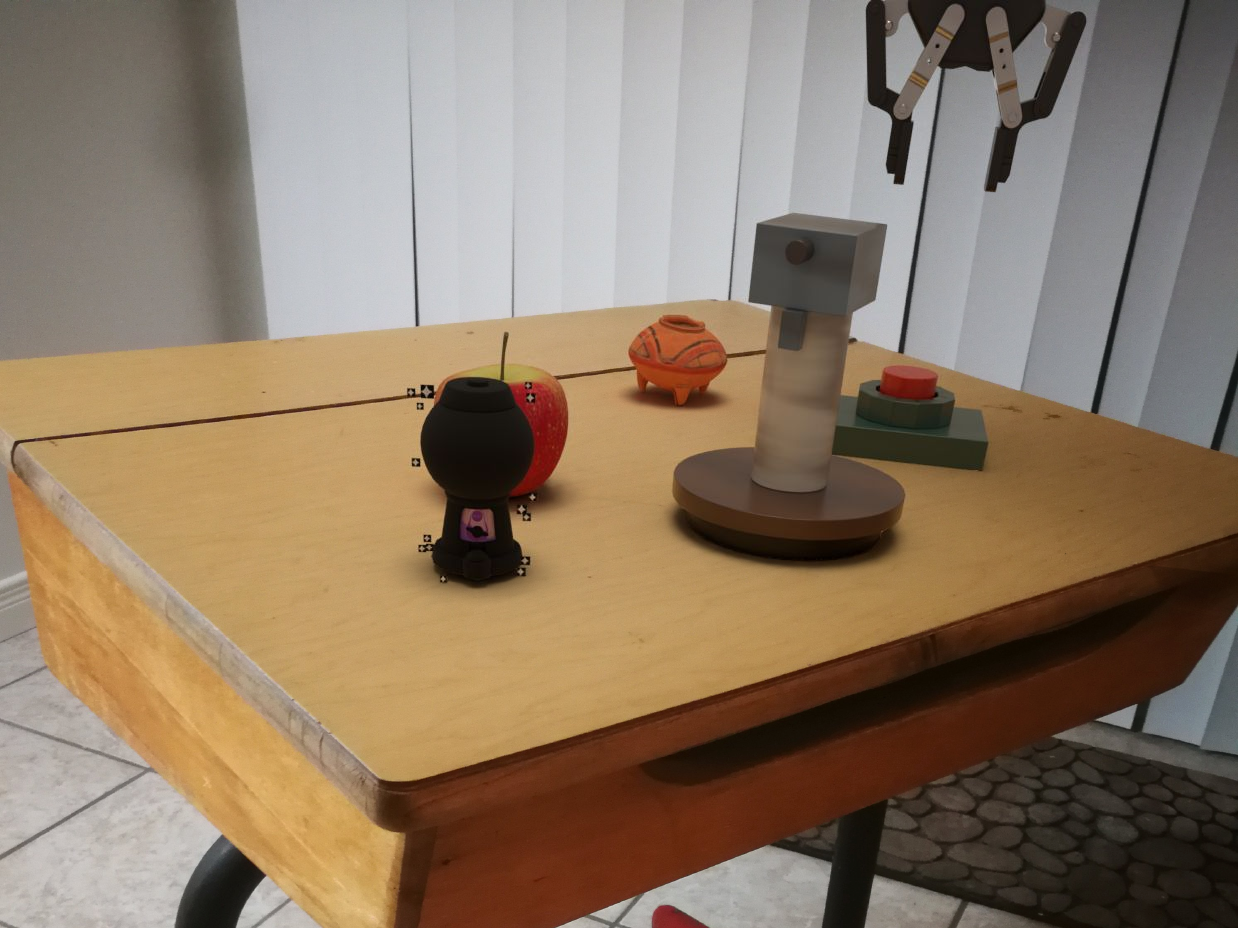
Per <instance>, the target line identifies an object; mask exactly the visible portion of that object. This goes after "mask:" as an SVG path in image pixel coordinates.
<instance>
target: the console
mask: <svg viewBox="0 0 1238 928" xmlns="http://www.w3.org/2000/svg"><path fill="white" fill-rule="evenodd" d="M880 383H881V379H871V380H867V381H864V382H861V383H859V387H858V392H857V393H858V394H857V396H852V395H843V394H841V395H840V402H839V408H838V415H837V422H836V428H835V435H834V441H833V448H832V455H834V456H838V457H847V458H848V457H849V458H856V459H857V458H858V459H865V460H866V459H867V460H875V461H884V462H894V463H902V464H910V465H911V464H912V465H919V466H920V465H921V466H931V467H938V468H947V469H956V470H964V469H966V470H965V471H973V470H978V471H977V472H983V469H984V465H985V461H986V456H987V451H988V447H989V438H988V433H987V429H986V424H985V420H984V416H983V411H982V409H976V408H967V407H957V406H955V403H956V397H955V393H954V392H952V391H950V390H948V389H946V388H944V387H942V386H939V385H936V390H935V396H934V398H933V399H918V400H914V399H905V398H897V397H893V396H889V395H885V394H882V393H880V392H879V389H880Z"/></svg>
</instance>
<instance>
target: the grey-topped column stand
mask: <svg viewBox="0 0 1238 928" xmlns="http://www.w3.org/2000/svg"><path fill="white" fill-rule="evenodd" d="M887 230H888V224H887V223H880V222H874V221H872V222H871V221H865V220H855V219H848V218H842V217H841V218H840V217H832V216H830V217H829V216H823V215H817V214H816V215H813V214H809V213H808V214H807V213H798V212H790V213H787V214H783V215H780V216H777V217H774V218H770V219H766V220H763V221H759V222H756V226H755V235H754V245H753V253H752V263H751V273H750V280H749V291H748V300H747V301H748V303H750V304H755V305H756V304H757V305H764V306H769V307H770V313H769V319H768V321H769V322H768V330H767V339H766V347H765V356H764V363H763V372H762V381H761V388H760V398H759V406H758V415H757V424H756V432H755V440H754V446H743V447H742V446H741V447H727V448H719V449H713V450H708V451H703V452H700V453H696V454H693V455H690V456H688V457H686V458H684V459H683V460H681V461H680V462H679V463H677V465H676V466H675V467H674V469H673V474H672V475H673V476H672V487H671V492H672V497H673V499H674V501H675V502H676V503H677V504H678V505H679V506H680V507H681V508H682V509H684V510H685V511H686V512H687V511H688V512H690V513H691V514H693V515H695V516H697V517H699V518H701V519H704V520H706V521H708V522H711V523H714V524H717V525H720V526H723V527H726V528H730V529H733V530H737V531H742V532H746V533H751V534H756V535H761V536H768V537H775V538H785V539H796V540H842V539H851V538H858V537H864V536H869V535H873V534H877V533H880V532H886V531H887V530H889V529H891V528H893V527H894V526H895V525H896V524H898V523H899V522H900V521H901V519H902V515H903V510H904V505H905V499H906V492H905V489H904V487H903V486H902V484H901V483H900V482H899V481H898V480H896V479H895V478H894V477H892V476H891V475H890V474H888V473H885V472H884V471H882V470H880V469H878V468H876V467H873V466H871V465H868V464H865V463H863V462H860V461H857V460H853V459H850V458H847V457H846V458H845V457H843V456H839V455H832V448H833V441H834V435H835V428H836V422H837V415H838V408H839V402H840V395H842V387H843V381H844V374H845V369H846V361H847V355H848V348H849V342H850V334H851V328H852V322H853V315H854V312H856V311H858V310H861V309H862V308H864V307H866V306H868V305H870V304H871V303H874V302H875V301H876V300H877V293H878V287H879V282H880V281H879V280H880V273H881V268H882V262H883V255H884V250H885V244H886V243H885V242H886V238H887V237H886V236H887V232H888V231H887Z"/></svg>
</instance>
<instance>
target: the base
mask: <svg viewBox="0 0 1238 928" xmlns="http://www.w3.org/2000/svg"><path fill="white" fill-rule="evenodd" d="M685 513H686V514H685V518H686V523H687V524H688V526H689V528H690V529H691V530H692V531H693V532H694V533H696V534H697V535H699V536H700V537H702V538H703V539H705V540H707V541H708V542H711V543H712V544H715V545H718V546H721V547H723V548H725V549H729V550H733V551H735V552H740V553H743V554H747V555H752V556H757V557H761V558H762V557H763V558H770V559H777V560H784V561H785V560H787V561H800V562H801V561H808V562H809V561H811V562H813V561H815V562H816V561H817V562H818V561H830V560H831V561H832V560H839V559H846V558H851V557H854V556H859V555H861V554H863V553H866V552H869V551H870V550H872V549H874V548H875V547H876V546H877V545H878V544H879V542H880V540H881V537H882V532H883V531H882V532H880V533H877V534H873V535H869V536H864V537H858V538H851V539H842V540H796V539H785V538H775V537H768V536H761V535H756V534H751V533H746V532H742V531H737V530H733V529H730V528H726V527H723V526H720V525H717V524H714V523H711V522H708V521H706V520H704V519H701V518H699V517H697V516H695V515H693V514H691V513H690V512H688V511H686V512H685Z"/></svg>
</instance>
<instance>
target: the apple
mask: <svg viewBox="0 0 1238 928" xmlns="http://www.w3.org/2000/svg"><path fill="white" fill-rule="evenodd" d="M509 335H510V334H509V331H505V332H503V338H502V347H501V348H502V350H501V358H500V359H501V360H500V362H501V363H497V364H489V365H484V366H480V367H474V368H470V369H467V370H462V371H459V372H456V373H453V374H450V375H449V376H447V377H445V378H444V379H443V380H442V381H441V382H440V384H439V385H438V387H437V390H436V392H435V395H434V399H433V406H434V405H435V404H436V403H437V402H438V401H439V398H440V396H441V394H442V391H443V389H444V386H445V384H446V383H447V382H448V381H449V380H452V379H455V378H461V377H485V378H492V379H497V380H501V381H504V382H505V383H507V384H508V385H509V386H510V388H511V391H512V393H513V396H514V398H515V401H516V403H517V405H518V406H519V407H520V408H521V409H522V411H523V412H524V414H525V416H526V417H527V419H528V421H529V423H530V425H531V428H532V431H533V435H534V444H535V448H534V456H533V460H532V464H531V466H530V468H529V470H528V472H527V475H526V477H525V478H524V479H523V481H522V482H521V483H520V484H519V485H518V486H517V487H516V488H515V489H514V490H513V491H511V492H510V496H509V498H514V497H519V496H523V495H526V494H529V493H532V492H534V491H535V490H538V488H540V487H542V486H543V485H544V484H545V483H546V482H547V481H548V480H549V479H550V477H551V475H552V474H553V473H554V471H555V470H556V468H557V466H558V464H559V462H560V460H561V458H562V454H563V452H564V449H565V446H566V441H567V438H568V430H569V408H568V400H567V396H566V393H565V390H564V387H563V386H562V384H561V382H560V381H559V380H558V379H557V377H555V376H554V375H552V374H551V373H550V372H548V371H547V370H544V369H541V368H539V367H535V366H532V365H527V364H519V363H505V361H506V350H507V345H508V342H509V341H508V340H509ZM525 382H532V389H525ZM526 393H536V397H535V403H531V402H526Z"/></svg>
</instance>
